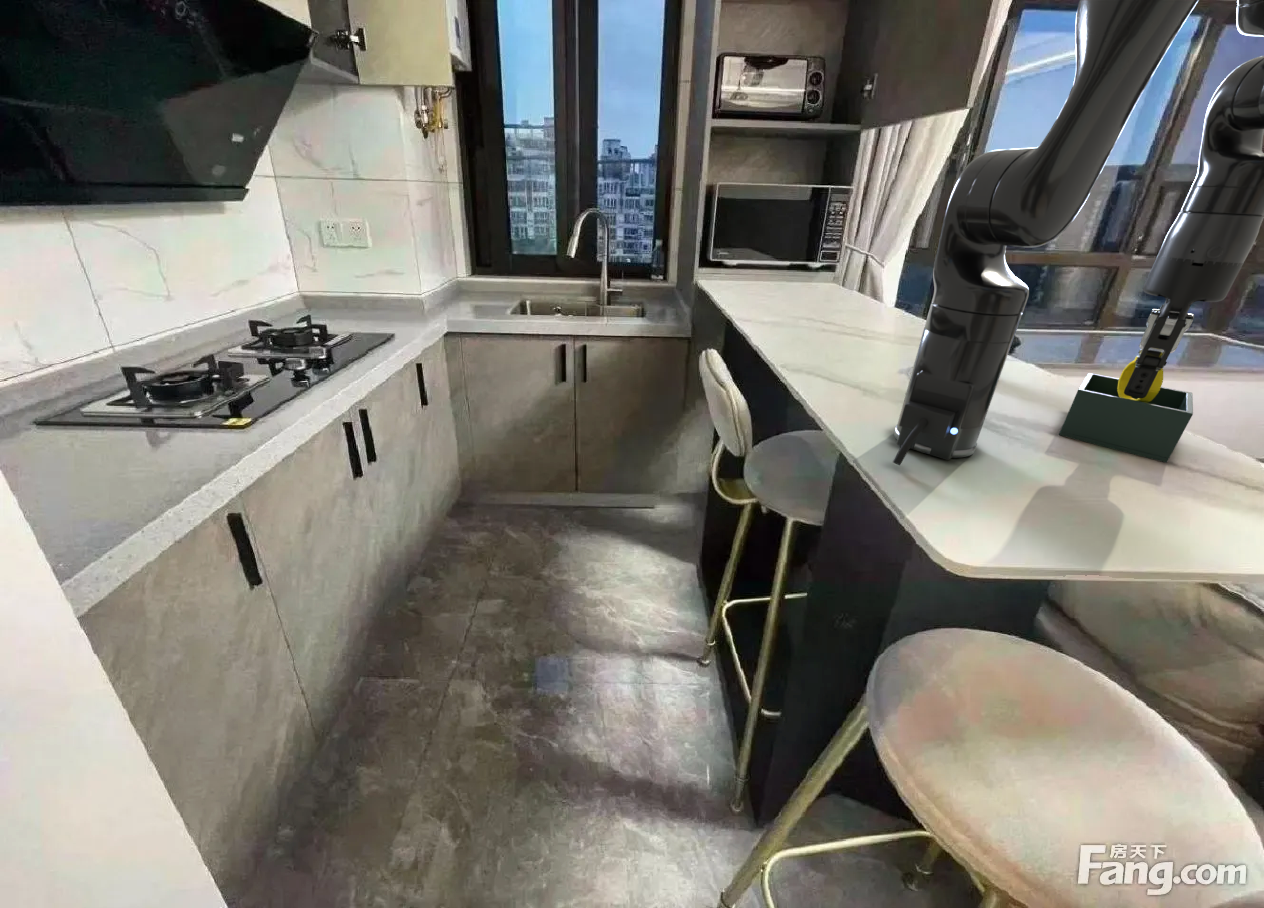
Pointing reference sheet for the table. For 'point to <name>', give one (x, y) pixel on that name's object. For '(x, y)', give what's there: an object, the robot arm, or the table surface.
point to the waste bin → (1128, 418)
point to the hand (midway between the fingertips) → (1135, 390)
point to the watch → (1125, 379)
